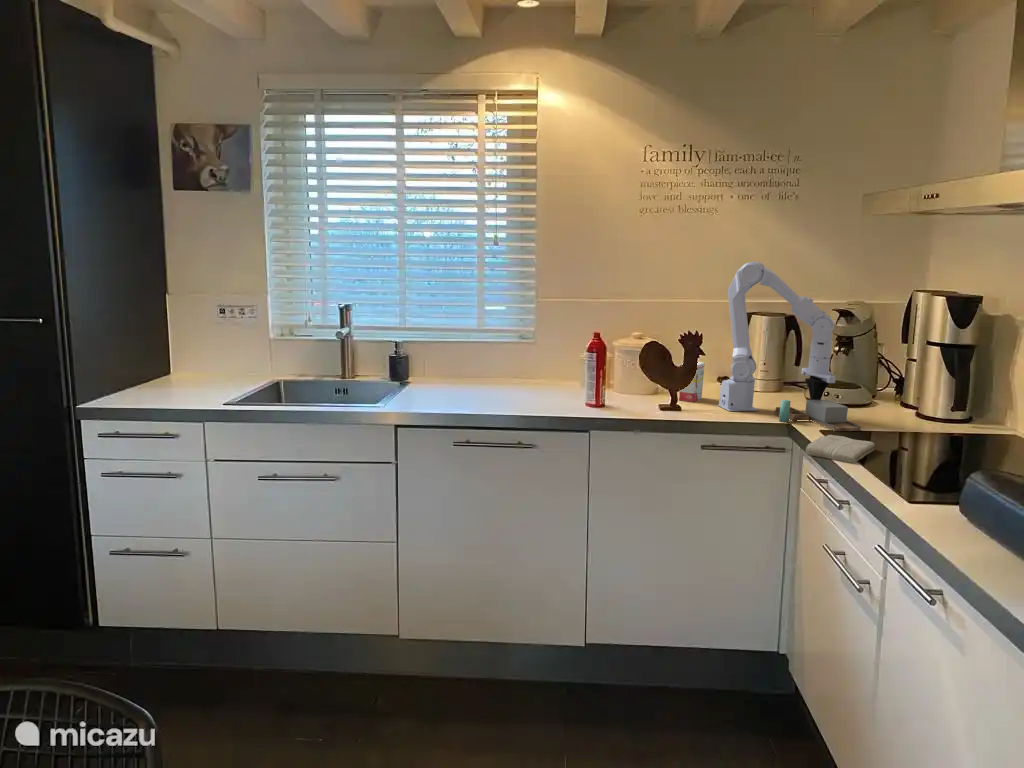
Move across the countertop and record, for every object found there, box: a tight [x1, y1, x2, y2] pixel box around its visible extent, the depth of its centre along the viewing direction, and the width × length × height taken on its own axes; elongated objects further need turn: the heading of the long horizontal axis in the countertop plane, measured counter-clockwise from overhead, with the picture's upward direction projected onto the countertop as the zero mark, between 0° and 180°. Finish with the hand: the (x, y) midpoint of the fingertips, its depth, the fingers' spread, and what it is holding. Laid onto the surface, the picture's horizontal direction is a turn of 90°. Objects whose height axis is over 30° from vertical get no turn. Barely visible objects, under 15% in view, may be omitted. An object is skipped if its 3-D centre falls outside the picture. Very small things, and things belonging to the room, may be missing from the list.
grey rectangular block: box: [805, 399, 849, 423], centre depth 233 cm, size 7×10×4 cm
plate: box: [799, 409, 862, 432], centre depth 233 cm, size 8×22×3 cm, turn 11°
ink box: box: [678, 361, 706, 403], centre depth 258 cm, size 9×5×12 cm, turn 147°
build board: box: [774, 406, 810, 422], centre depth 237 cm, size 5×10×2 cm, turn 11°
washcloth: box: [805, 434, 876, 464], centre depth 200 cm, size 12×18×3 cm, turn 142°
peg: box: [778, 399, 792, 423], centre depth 232 cm, size 3×3×6 cm
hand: (815, 403), depth 238 cm, fingers closed
